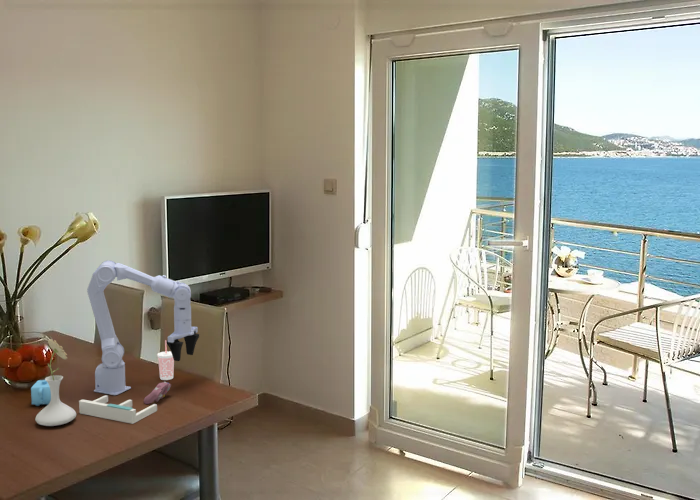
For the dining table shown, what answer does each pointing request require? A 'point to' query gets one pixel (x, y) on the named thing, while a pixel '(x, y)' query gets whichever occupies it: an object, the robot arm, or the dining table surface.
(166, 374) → the beverage cup
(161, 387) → the video game controller
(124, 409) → the comb rack
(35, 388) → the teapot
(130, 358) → the dining table surface
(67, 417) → the flower in vase
